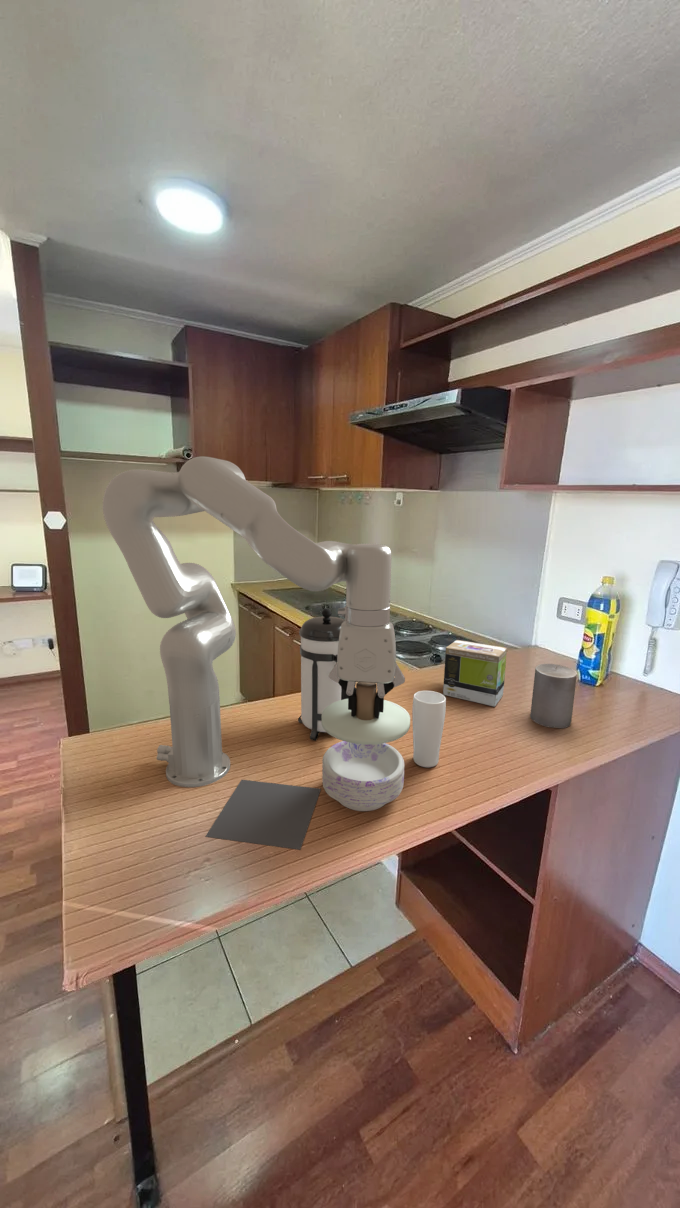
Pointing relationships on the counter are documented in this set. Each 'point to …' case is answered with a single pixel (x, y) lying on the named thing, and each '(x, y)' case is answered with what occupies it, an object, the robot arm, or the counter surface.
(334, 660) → the coffee press
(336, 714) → the lid
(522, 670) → the counter surface
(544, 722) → the pillar candle
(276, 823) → the mat
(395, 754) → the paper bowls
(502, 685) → the tea box
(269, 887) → the counter surface
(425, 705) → the drinking glass
